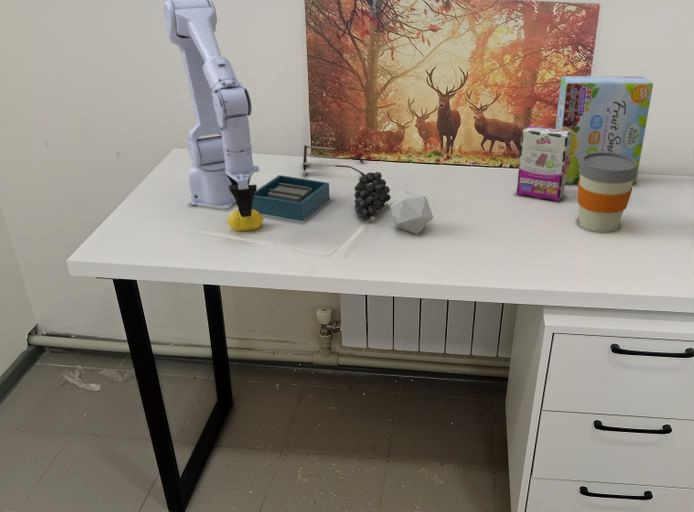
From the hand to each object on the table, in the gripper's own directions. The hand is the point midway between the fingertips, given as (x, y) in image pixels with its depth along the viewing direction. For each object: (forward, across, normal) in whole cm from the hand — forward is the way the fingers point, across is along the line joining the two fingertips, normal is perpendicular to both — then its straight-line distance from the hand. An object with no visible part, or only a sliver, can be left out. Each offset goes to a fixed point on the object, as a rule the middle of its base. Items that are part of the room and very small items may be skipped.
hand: (244, 209), depth 159 cm
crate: (+5, +11, -11) cm, 16 cm away
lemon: (+5, 0, 0) cm, 5 cm away
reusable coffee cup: (+5, -15, -79) cm, 80 cm away
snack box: (+5, +12, -91) cm, 92 cm away
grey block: (+4, +11, -11) cm, 16 cm away
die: (+5, -8, -36) cm, 37 cm away
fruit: (+5, +3, -28) cm, 29 cm away
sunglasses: (+5, +33, -26) cm, 43 cm away
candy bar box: (+5, +4, -73) cm, 73 cm away
